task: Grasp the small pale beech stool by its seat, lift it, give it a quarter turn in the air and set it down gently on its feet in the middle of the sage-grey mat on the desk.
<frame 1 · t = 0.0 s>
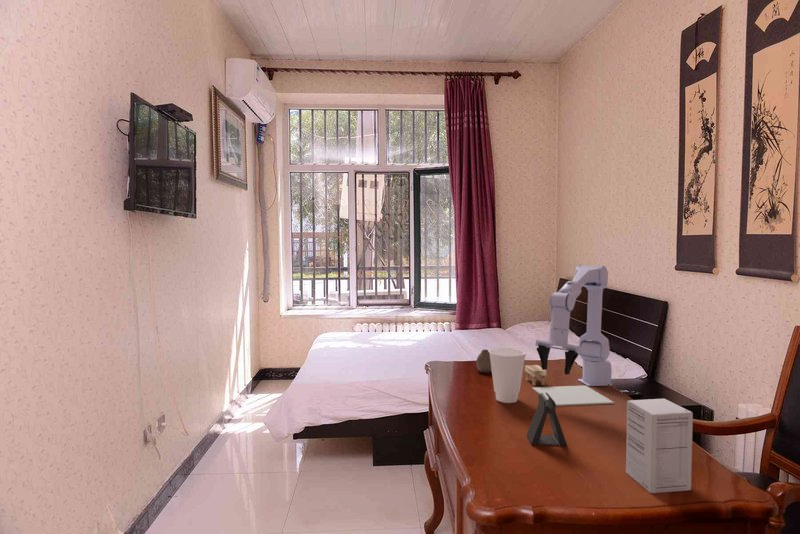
hand: (555, 371, 152), 11 cm above the table, tool pointing down, fingers open, 7 cm apart
cup: (506, 400, 157), on the table
supplement box: (657, 482, 103), on the table
mat: (571, 395, 161), on the table
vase: (484, 372, 191), on the table
phone stand: (546, 441, 124), on the table
stool: (535, 382, 176), on the table
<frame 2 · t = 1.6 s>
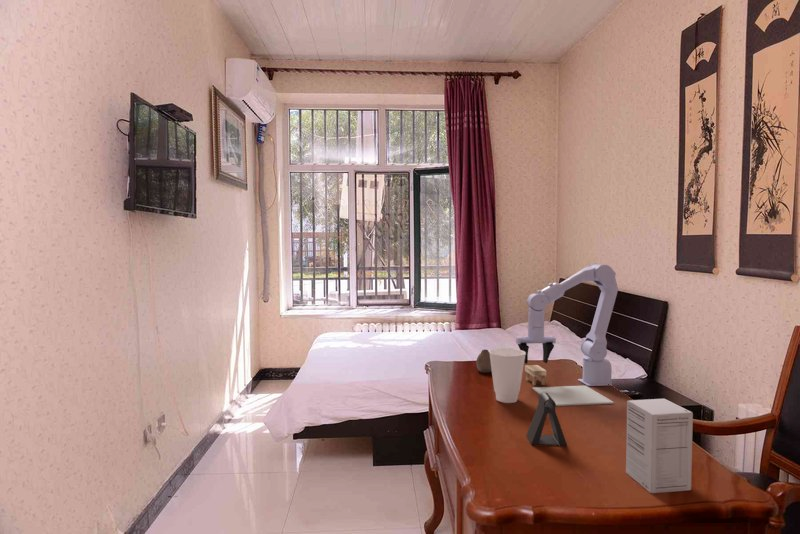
hand: (535, 362, 175), 7 cm above the table, tool pointing down, fingers open, 7 cm apart
nothing on the table moved.
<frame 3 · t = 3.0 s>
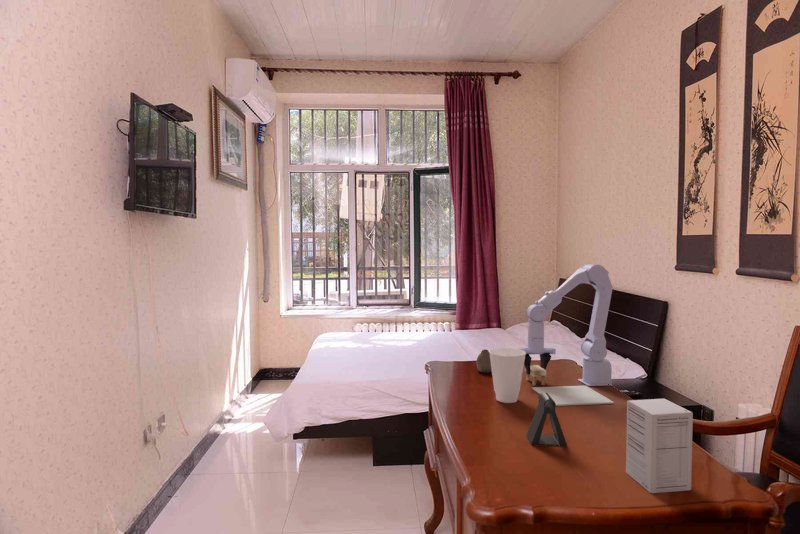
hand: (535, 373, 176), 3 cm above the table, tool pointing down, fingers closed on stool, 5 cm apart
stool: (535, 382, 176), on the table, touching gripper
everything else where it was.
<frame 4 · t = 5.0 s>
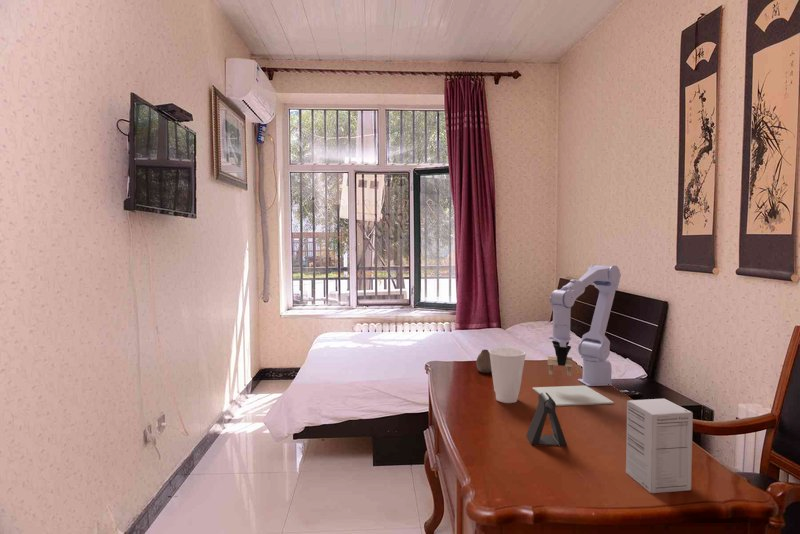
hand: (560, 363, 164), 10 cm above the table, tool pointing down, fingers closed on stool, 5 cm apart
stool: (559, 373, 165), point 6 cm above the table, touching gripper
everything else where it was.
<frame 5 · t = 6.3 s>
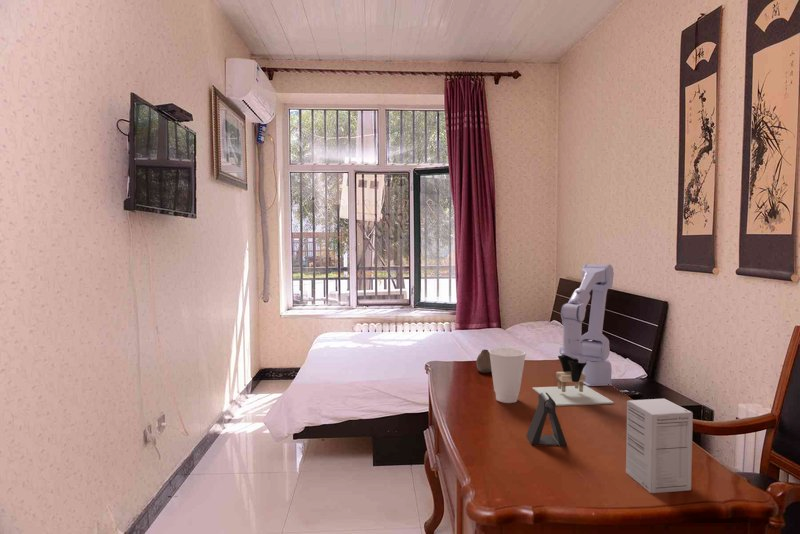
hand: (571, 379, 160), 6 cm above the table, tool pointing down, fingers closed on stool, 5 cm apart
stool: (570, 389, 161), point 2 cm above the table, touching gripper
everything else where it was.
when the fingers open (5 cm above the table, at t = 7.5 s): stool stays where it is, resting on mat.
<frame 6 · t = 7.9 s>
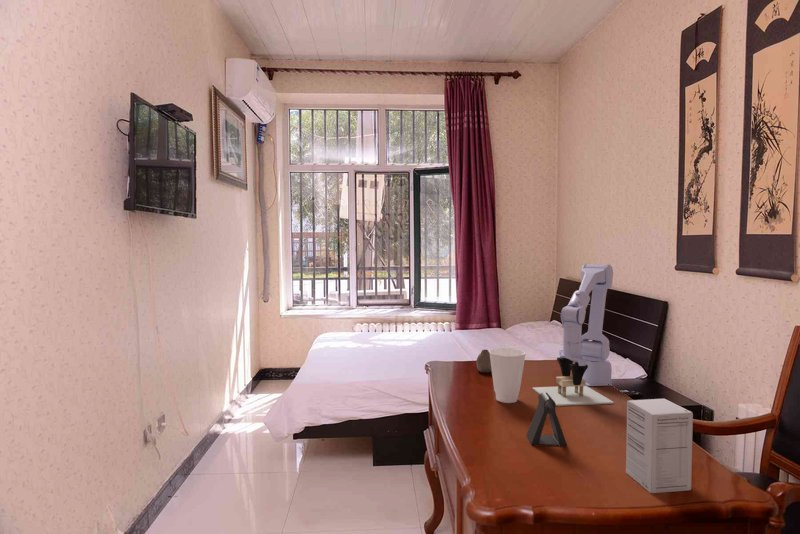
hand: (571, 381, 160), 5 cm above the table, tool pointing down, fingers open, 7 cm apart
stool: (570, 394, 161), resting on mat
everything else where it was.
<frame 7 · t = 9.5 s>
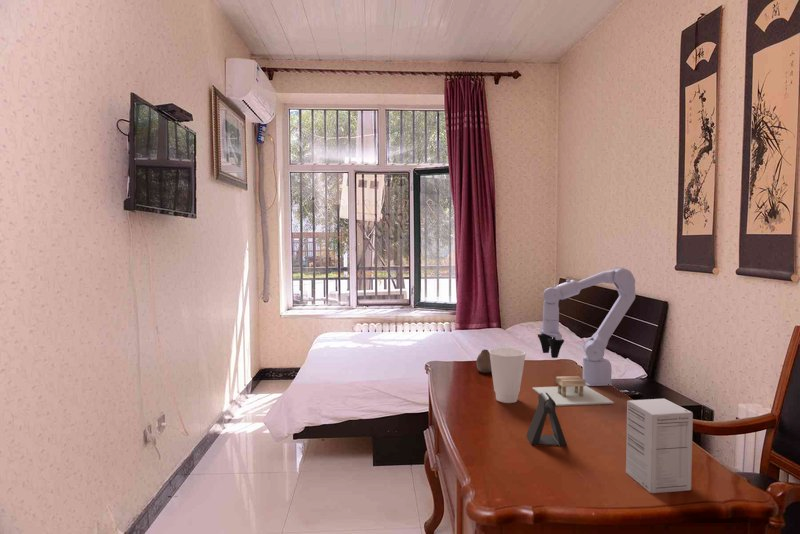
hand: (550, 355, 179), 9 cm above the table, tool pointing down, fingers open, 7 cm apart
nothing on the table moved.
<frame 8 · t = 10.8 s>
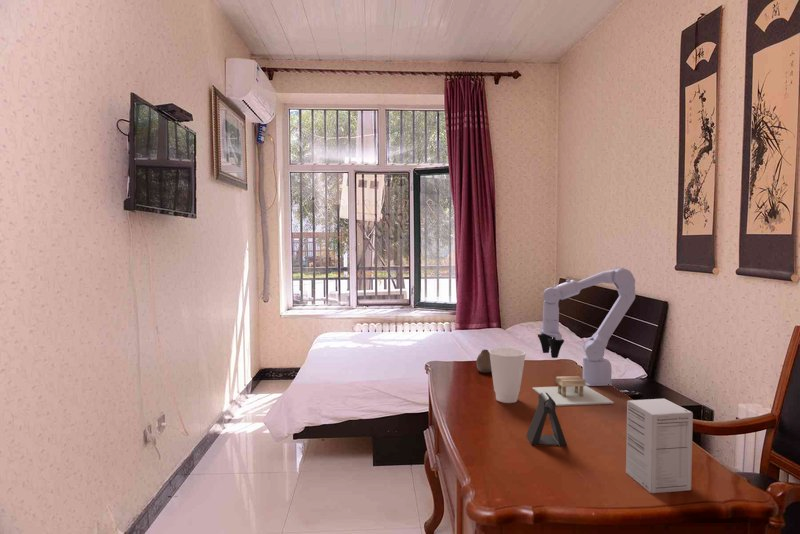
hand: (550, 355, 179), 9 cm above the table, tool pointing down, fingers open, 7 cm apart
nothing on the table moved.
at the end: stool inside the target area on the mat (0.3 cm from its centre), point 0.5 cm above the mat's base; stool tilted 0°; the gripper is holding nothing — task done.
